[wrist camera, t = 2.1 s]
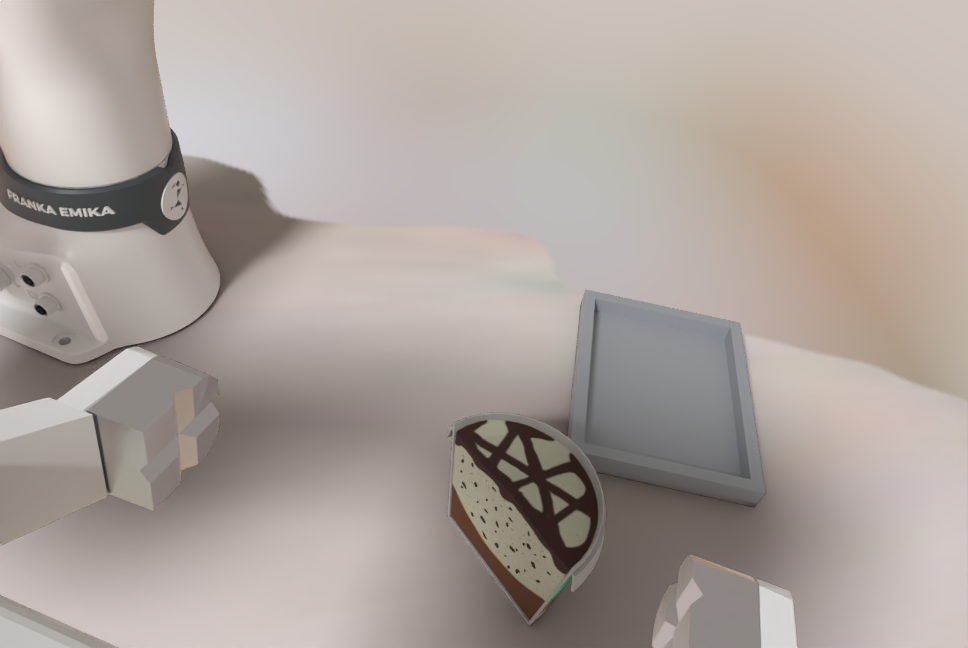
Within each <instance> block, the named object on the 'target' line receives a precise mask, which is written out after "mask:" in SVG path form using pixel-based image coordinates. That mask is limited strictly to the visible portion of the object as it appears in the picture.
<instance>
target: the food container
mask: <svg viewBox="0 0 968 648" xmlns="http://www.w3.org/2000/svg"><path fill="white" fill-rule="evenodd" d="M450 436H452V447H451V463H450V480H449V496H448V512H447V516H448V518H449V519H450V521H451V522H452V523H453V525H454V526H455V527H456V529H457V530H458V531H459V533H460V534H461V535H462V537H463V538H464V539H465V541H466V542H467V543H468V545H469V546H470V547H471V549H472V550H473V551H474V553H475V554H476V555H477V557H478V558H479V559H480V561H481V562H482V563H483V565H484V566H485V567H486V569H487V570H488V571H489V573H490V574H491V575H492V577H493V578H494V579H495V581H496V582H497V583H498V585H499V586H500V588H501V589H502V590H503V592H504V593H505V594H506V596H507V597H508V598H509V600H510V601H511V602H512V604H513V605H514V606H515V608H516V609H517V610H518V612H519V613H520V614H521V616H522V617H523V618H524V620H525V621H526V622H527V624H528V625H529V626H531V625H532V624H533V623H534V622H535V621H536V620H537V619H538V618H539V617H541V616H542V615H543V613H544V612H545V611H546V609H547V608H548V607H549V606H550V604H551V603H552V602H553V601H554V599H555V598H556V597H557V596H558V594H559V593H560V592H561V590H562V589H563V588H564V587H565V585H566V584H567V583H568V582H569V580H570V579H571V578H572V584H571V591H572V592H574V591H575V590H576V589H577V588H578V587H579V586H580V585H581V584H582V583H583V582H584V581H585V580H586V578H587V577H588V576H589V574H590V573H591V572H592V570H593V569H594V567H595V565H596V563H597V561H598V559H599V557H600V553H601V550H602V546H603V543H604V535H605V525H606V502H605V498H604V494H603V489H602V486H601V483H600V480H599V478H598V476H597V473H596V471H595V469H594V467H593V466H592V464H591V462H590V461H589V459H588V458H587V456H586V455H585V454H584V453H583V452H582V450H581V449H580V448H579V447H578V446H577V445H576V444H575V443H574V442H573V441H572V440H571V439H570V438H568V437H567V436H566V435H564V434H563V433H561V432H560V431H559V430H557V429H555V428H553V427H552V426H550V425H548V424H546V423H544V422H541V421H539V420H536V419H534V418H531V417H527V416H523V415H519V414H512V413H484V414H477V415H473V416H469V417H466V418H463V419H461V420H458V421H456V422H454V424H453V425H451V426H450V428H449V430H448V432H447V434H446V437H447V438H448V437H450Z"/></svg>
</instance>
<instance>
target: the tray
mask: <svg viewBox="0 0 968 648" xmlns="http://www.w3.org/2000/svg"><path fill="white" fill-rule="evenodd" d="M567 437H568V438H570V439H571V440H572V441H573V442H574V443H575V444H576V445H577V446H578V447H579V448H580V449H581V450H582V452H583V453H584V454H585V455H586V456H587V458H588V459H589V461H590V462H591V464H592V466H593V467H594V469H595V471H596V472H599V473H603V474H608V475H612V476H617V477H621V478H626V479H630V480H635V481H639V482H644V483H648V484H653V485H657V486H662V487H666V488H671V489H675V490H680V491H684V492H689V493H693V494H698V495H702V496H707V497H711V498H716V499H720V500H725V501H729V502H734V503H738V504H743V505H747V506H752V507H755V506H756V505H757V504H758V502H759V501H760V500H761V498H762V497H763V496H764V495H765V487H764V480H763V473H762V467H761V460H760V453H759V446H758V440H757V433H756V426H755V420H754V413H753V406H752V400H751V393H750V386H749V379H748V373H747V366H746V359H745V353H744V346H743V339H742V333H741V326H740V323H739V322H734V321H729V320H725V319H720V318H715V317H710V316H706V315H701V314H697V313H692V312H687V311H683V310H678V309H674V308H669V307H664V306H660V305H655V304H650V303H645V302H641V301H636V300H632V299H627V298H622V297H617V296H613V295H609V294H604V293H599V292H594V291H590V290H585V293H584V296H583V299H582V302H581V307H580V317H579V327H578V337H577V347H576V357H575V367H574V377H573V387H572V397H571V407H570V416H569V426H568V436H567Z"/></svg>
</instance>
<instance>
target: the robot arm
mask: <svg viewBox="0 0 968 648" xmlns="http://www.w3.org/2000/svg"><path fill="white" fill-rule="evenodd" d="M153 22H154V0H0V335H2V336H5V337H7V338H9V339H12V340H14V341H16V342H19V343H21V344H24V345H26V346H28V347H31V348H33V349H35V350H38V351H40V352H43V353H45V354H47V355H50V356H52V357H54V358H57V359H59V360H62V361H64V362H66V363H70V364H80V363H84V362H87V361H90V360H92V359H95V358H97V357H99V356H101V355H103V354H105V353H107V352H109V351H111V350H113V349H116V348H120V347H124V346H128V345H133V344H138V343H143V342H147V341H151V340H155V339H158V338H161V337H164V336H166V335H169V334H171V333H174V332H176V331H178V330H180V329H182V328H184V327H185V326H187V325H189V324H190V323H192V322H193V321H194V320H196V319H197V318H198V317H199V316H201V315H202V314H203V313H204V312H205V311H206V310H207V309H208V308H209V306H210V305H211V304H212V302H213V301H214V299H215V297H216V295H217V293H218V291H219V287H220V272H219V269H218V266H217V264H216V263H215V261H214V260H213V258H212V256H211V255H210V253H209V251H208V250H207V248H206V246H205V244H204V242H203V240H202V238H201V235H200V233H199V231H198V228H197V226H196V223H195V221H194V218H193V216H192V213H191V210H190V207H189V193H188V184H187V177H186V172H185V167H184V162H183V158H182V154H181V151H180V146H179V142H178V139H177V136H176V134H175V133H174V132H173V130H172V129H171V128H170V126H169V121H168V116H167V110H166V105H165V100H164V95H163V90H162V85H161V80H160V74H159V70H158V64H157V59H156V53H155V44H154V29H153V28H154V26H153ZM64 344H66V345H64ZM218 395H219V389H218V379H216V378H214V377H212V376H211V375H208V374H206V373H203V372H201V371H198V370H196V369H193V368H191V367H188V366H186V365H183V364H181V363H179V362H176V361H174V360H171V359H169V358H166V357H164V356H160V355H158V354H155V353H153V352H150V351H148V350H145V349H143V348H140V347H138V346H135V347H131V348H127V349H125V350H124V351H122V352H121V353H120V354H118V355H117V356H116V357H114V358H113V359H112V360H110V361H109V362H108V363H106V364H105V365H103V366H102V367H101V368H99V369H98V370H97V371H95V372H94V373H93V374H91V375H90V376H89V377H87V378H86V379H85V380H83V381H82V382H80V383H79V384H78V385H76V386H75V387H74V388H72V389H71V390H70V391H68V392H67V393H66V394H64V395H63V396H62V397H60V398H59V399H58V400H55V399H52V398H50V397H48V398H44V399H40V400H36V401H32V402H28V403H24V404H20V405H16V406H13V407H9V408H5V409H1V410H0V546H1V545H3V544H5V543H8V542H10V541H12V540H14V539H16V538H19V537H21V536H23V535H25V534H27V533H30V532H32V531H34V530H36V529H38V528H41V527H43V526H45V525H47V524H49V523H52V522H54V521H56V520H58V519H60V518H63V517H65V516H67V515H69V514H71V513H74V512H76V511H78V510H80V509H82V508H85V507H87V506H89V505H91V504H93V503H96V502H98V501H100V500H102V499H104V498H106V497H108V494H110V495H112V496H115V497H118V498H120V499H123V500H126V501H128V502H131V503H134V504H136V505H139V506H141V507H144V508H147V509H149V510H152V511H155V509H156V508H157V507H158V506H159V505H160V504H161V503H162V502H163V501H164V500H165V499H166V498H167V497H168V496H169V495H170V494H171V493H172V492H173V491H174V489H175V488H176V487H177V486H178V485H179V484H180V483H181V470H184V469H187V468H189V467H192V466H195V465H198V464H199V463H200V462H201V461H202V460H203V458H204V457H205V456H206V455H207V454H208V453H209V451H210V449H211V448H212V446H213V444H214V442H215V440H216V438H217V436H218V432H219V427H220V413H219V412H218V410H217V409H216V407H215V406H214V404H213V402H212V401H213V400H214V399H215V398H216V397H217V396H218ZM652 646H653V648H798V646H797V636H796V625H795V614H794V604H793V597H792V595H791V593H790V591H789V590H786V589H783V588H781V587H778V586H775V585H772V584H770V583H767V582H764V581H762V580H759V579H756V578H755V579H754V578H753V577H752V576H749V575H746V574H743V573H740V572H738V571H735V570H732V569H729V568H727V567H724V566H721V565H718V564H716V563H713V562H710V561H707V560H705V559H702V558H699V557H696V556H694V555H691V554H690V555H689V556H687V557H686V558H685V559H684V561H683V563H682V564H681V566H680V568H679V574H678V583H675V584H672V585H669V586H668V588H667V590H666V592H665V594H664V596H663V598H662V600H661V603H660V605H659V608H658V611H657V614H656V618H655V623H654V628H653V636H652ZM0 648H118V647H116V646H114V645H111V644H109V643H107V642H105V641H102V640H100V639H98V638H96V637H93V636H91V635H89V634H87V633H84V632H82V631H80V630H78V629H75V628H73V627H71V626H69V625H67V624H64V623H62V622H60V621H58V620H55V619H53V618H51V617H49V616H46V615H44V614H42V613H40V612H37V611H35V610H33V609H31V608H28V607H26V606H24V605H22V604H19V603H17V602H15V601H13V600H11V599H8V598H6V597H4V596H2V595H0Z"/></svg>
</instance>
